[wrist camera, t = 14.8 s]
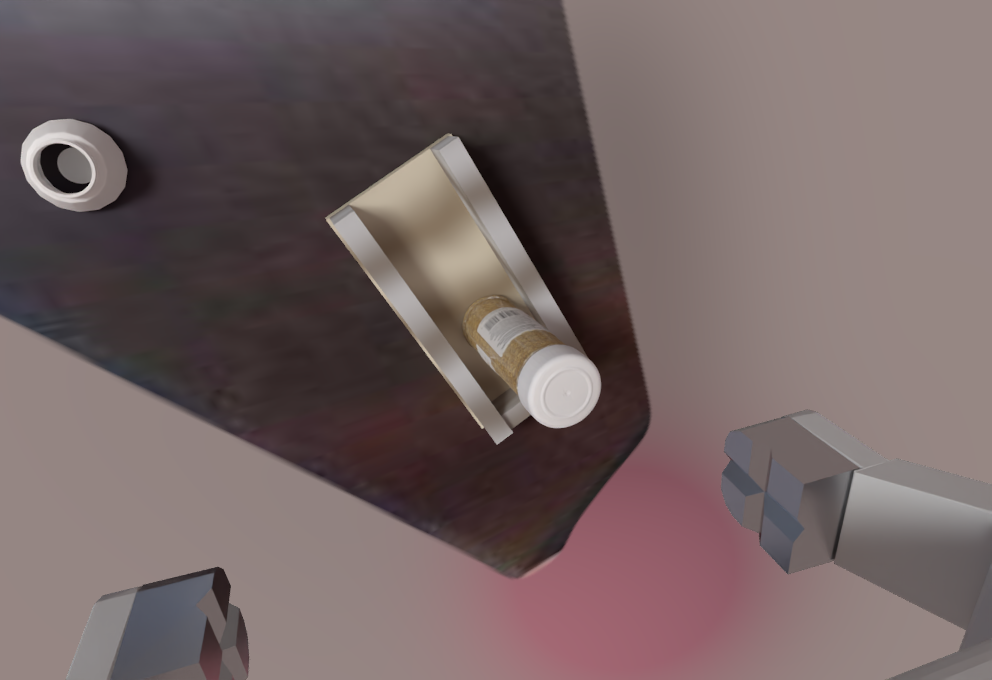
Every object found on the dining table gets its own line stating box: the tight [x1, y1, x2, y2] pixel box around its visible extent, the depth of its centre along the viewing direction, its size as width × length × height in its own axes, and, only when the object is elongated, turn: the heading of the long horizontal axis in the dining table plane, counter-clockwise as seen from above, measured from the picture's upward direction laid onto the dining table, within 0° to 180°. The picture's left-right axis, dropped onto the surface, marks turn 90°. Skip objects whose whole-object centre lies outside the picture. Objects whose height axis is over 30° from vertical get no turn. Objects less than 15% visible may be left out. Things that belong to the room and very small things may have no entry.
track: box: [325, 133, 588, 444], centre depth 44 cm, size 20×10×4 cm, turn 32°
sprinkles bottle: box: [462, 295, 601, 428], centre depth 40 cm, size 5×4×14 cm
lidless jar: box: [21, 119, 128, 212], centre depth 34 cm, size 5×3×5 cm
